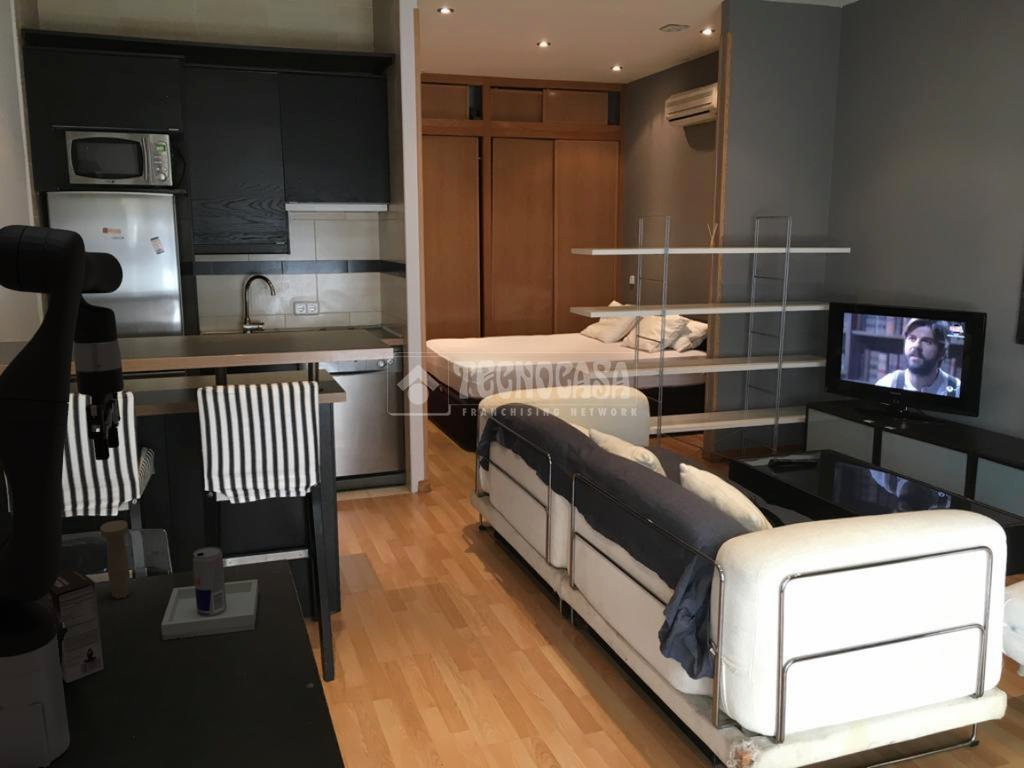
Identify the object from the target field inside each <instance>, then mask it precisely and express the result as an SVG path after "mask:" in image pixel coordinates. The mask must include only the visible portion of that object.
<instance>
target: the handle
mask: <svg viewBox="0 0 1024 768" xmlns="http://www.w3.org/2000/svg"><path fill="white" fill-rule="evenodd" d="M128 524H129V523H128V522H127V521H126V520H122V519H121V520H111V521H108V522H105V523H103V524H101V525H100V535H101V537H102V538H105V540H106V555H107V556H106V560H107V575H108V582H109V586H110V590H111V596H112V597H113V598H115V599H116V600H120V599H125V598H127V597H128V596H129V595H130V594H131V588H130V586H131V583H130V582H131V580H130V579H131V577H130V565H129V559H128V554H127V553H128V552H127V549H126V548H127V547H126V541H125V535H126V534H128V532H129V525H128ZM127 595H128V596H127Z"/></svg>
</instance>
